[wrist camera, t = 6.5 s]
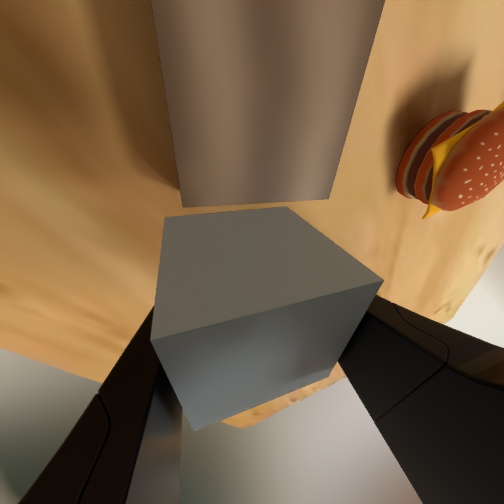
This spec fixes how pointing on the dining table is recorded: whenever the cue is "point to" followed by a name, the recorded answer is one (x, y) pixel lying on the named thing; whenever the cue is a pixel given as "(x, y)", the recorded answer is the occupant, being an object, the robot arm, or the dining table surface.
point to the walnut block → (261, 93)
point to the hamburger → (454, 160)
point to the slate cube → (252, 308)
